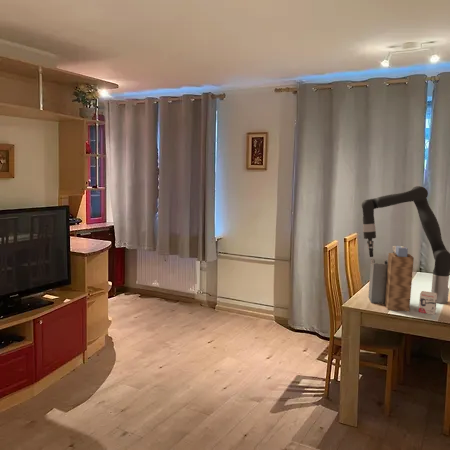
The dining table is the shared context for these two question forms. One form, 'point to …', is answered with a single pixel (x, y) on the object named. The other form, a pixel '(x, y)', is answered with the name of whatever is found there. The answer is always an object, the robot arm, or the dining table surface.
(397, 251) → the cream rectangular block
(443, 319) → the dining table surface
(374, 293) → the tray
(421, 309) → the ink box
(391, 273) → the stand
